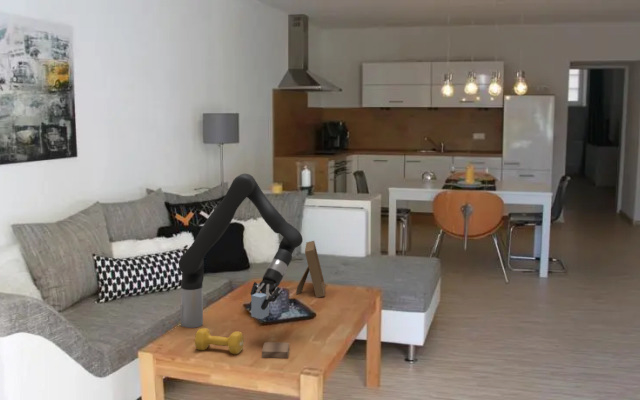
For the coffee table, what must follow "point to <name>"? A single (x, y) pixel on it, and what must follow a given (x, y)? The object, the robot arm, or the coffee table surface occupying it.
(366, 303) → the coffee table surface
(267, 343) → the slab
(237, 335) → the dumbbell
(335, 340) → the coffee table surface
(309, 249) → the photo frame
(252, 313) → the pillar
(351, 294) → the coffee table surface
